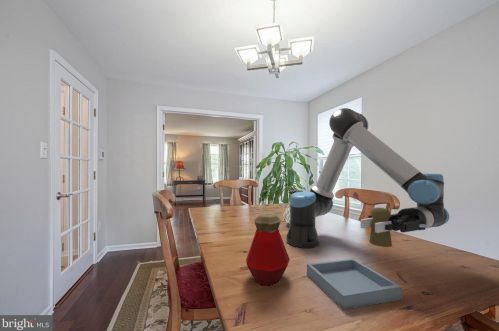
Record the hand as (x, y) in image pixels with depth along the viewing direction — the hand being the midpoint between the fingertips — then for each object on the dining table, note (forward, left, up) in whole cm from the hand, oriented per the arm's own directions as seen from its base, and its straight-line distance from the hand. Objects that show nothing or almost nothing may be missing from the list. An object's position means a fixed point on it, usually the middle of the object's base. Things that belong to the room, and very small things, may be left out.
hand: (368, 225), depth 64 cm
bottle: (-28, -11, -18) cm, 35 cm away
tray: (-5, -3, -18) cm, 19 cm away
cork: (+3, +4, -6) cm, 8 cm away
